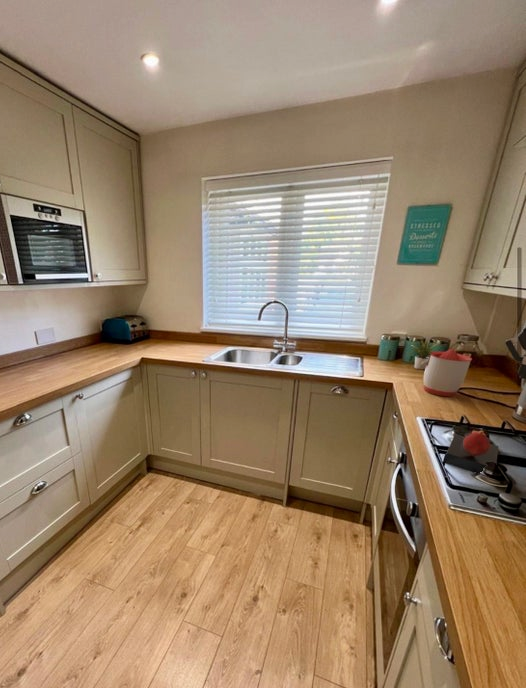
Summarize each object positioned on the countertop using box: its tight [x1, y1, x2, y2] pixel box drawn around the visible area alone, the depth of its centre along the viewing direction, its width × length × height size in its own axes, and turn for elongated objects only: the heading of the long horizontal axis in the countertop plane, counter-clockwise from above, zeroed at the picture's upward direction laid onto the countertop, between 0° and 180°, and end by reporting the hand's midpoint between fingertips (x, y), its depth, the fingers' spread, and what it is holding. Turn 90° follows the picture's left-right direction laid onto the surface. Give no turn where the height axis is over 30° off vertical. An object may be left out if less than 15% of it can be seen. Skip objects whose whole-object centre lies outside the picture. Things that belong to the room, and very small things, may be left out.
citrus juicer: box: [422, 348, 473, 398], centre depth 146 cm, size 16×17×20 cm
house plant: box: [410, 339, 440, 370], centre depth 182 cm, size 14×14×16 cm
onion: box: [463, 430, 491, 456], centre depth 91 cm, size 6×6×8 cm
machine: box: [443, 432, 500, 474], centre depth 96 cm, size 16×11×5 cm, turn 139°
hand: (522, 377), depth 88 cm, fingers closed
